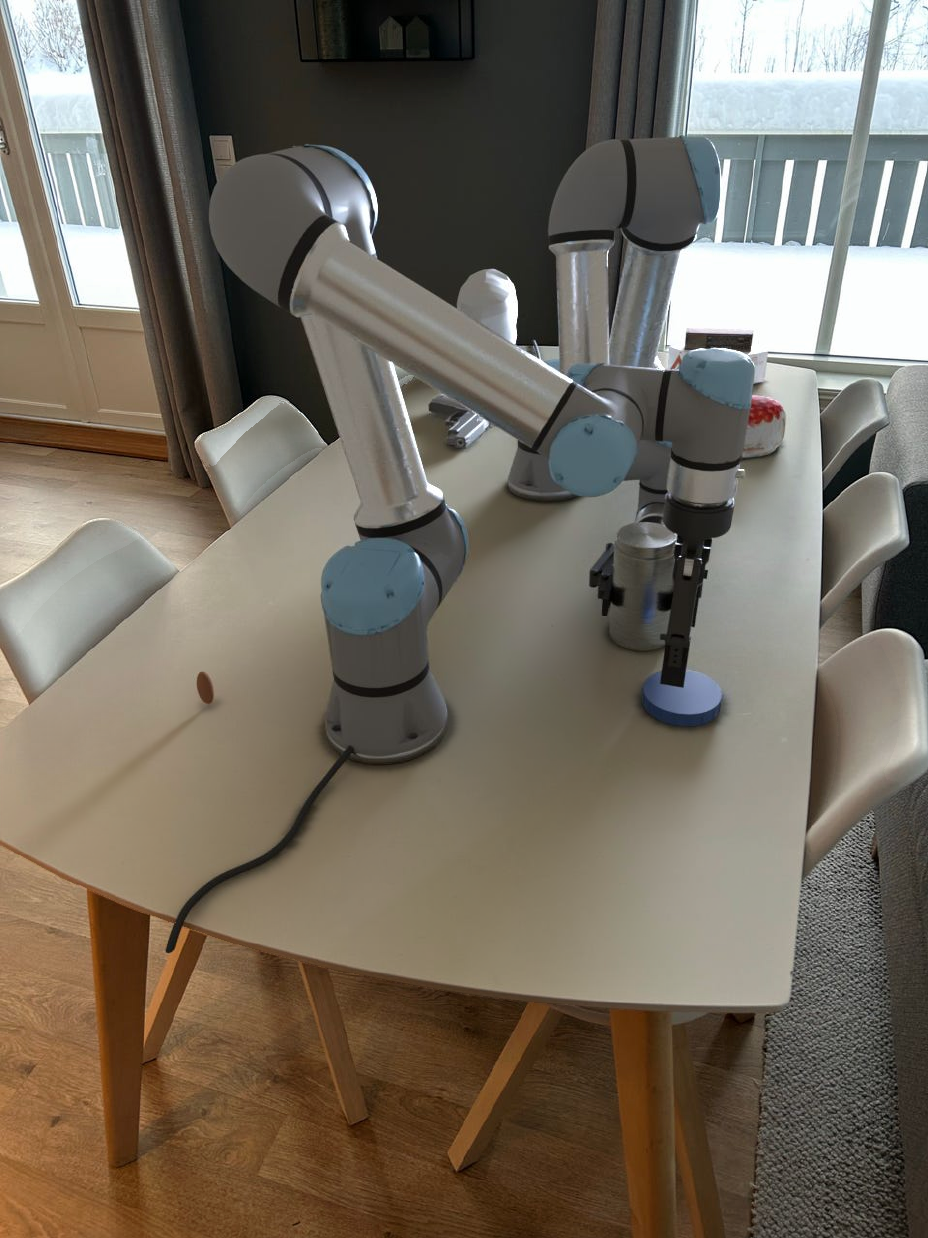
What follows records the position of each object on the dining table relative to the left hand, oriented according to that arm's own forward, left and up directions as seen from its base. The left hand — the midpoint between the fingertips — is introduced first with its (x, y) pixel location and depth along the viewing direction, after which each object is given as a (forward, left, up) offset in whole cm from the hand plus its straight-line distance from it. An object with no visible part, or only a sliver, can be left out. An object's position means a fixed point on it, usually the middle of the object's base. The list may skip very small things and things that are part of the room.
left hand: (678, 653), depth 112 cm
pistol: (+96, +50, -8) cm, 109 cm away
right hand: (+11, +5, -1) cm, 12 cm away
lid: (0, -1, -6) cm, 6 cm away
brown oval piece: (-10, +60, -8) cm, 61 cm away
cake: (+95, -10, -8) cm, 96 cm away
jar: (+15, +5, -8) cm, 18 cm away
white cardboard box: (+137, -8, -8) cm, 138 cm away
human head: (+145, +51, -8) cm, 154 cm away
